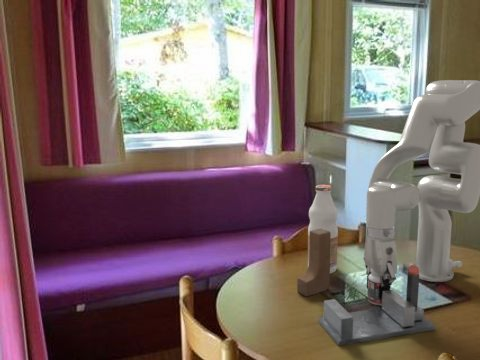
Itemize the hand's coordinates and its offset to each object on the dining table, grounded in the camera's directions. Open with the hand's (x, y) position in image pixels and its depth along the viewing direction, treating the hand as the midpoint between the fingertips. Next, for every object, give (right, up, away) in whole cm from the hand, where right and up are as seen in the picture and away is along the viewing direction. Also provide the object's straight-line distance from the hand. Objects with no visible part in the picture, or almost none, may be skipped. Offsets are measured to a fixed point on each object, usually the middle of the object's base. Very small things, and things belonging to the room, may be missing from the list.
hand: (378, 292), depth 136 cm
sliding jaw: (+4, -3, -11) cm, 12 cm away
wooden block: (-17, -2, +8) cm, 19 cm away
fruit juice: (-12, +2, +24) cm, 27 cm away
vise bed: (-4, -6, -12) cm, 14 cm away
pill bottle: (0, -3, +1) cm, 3 cm away
